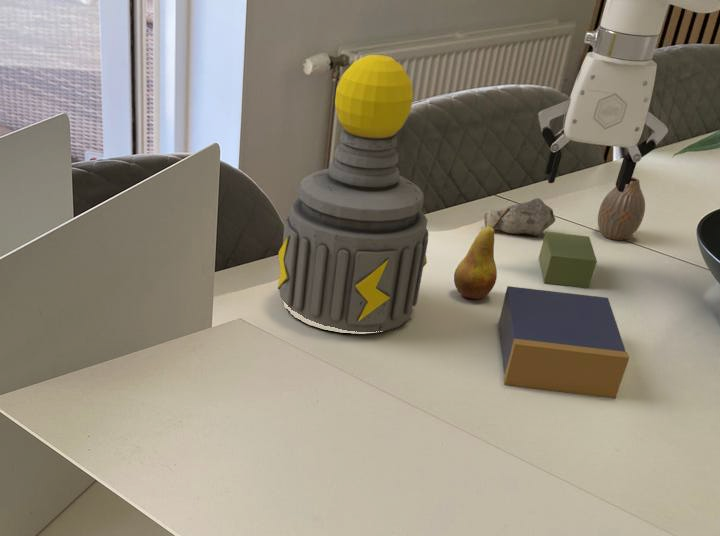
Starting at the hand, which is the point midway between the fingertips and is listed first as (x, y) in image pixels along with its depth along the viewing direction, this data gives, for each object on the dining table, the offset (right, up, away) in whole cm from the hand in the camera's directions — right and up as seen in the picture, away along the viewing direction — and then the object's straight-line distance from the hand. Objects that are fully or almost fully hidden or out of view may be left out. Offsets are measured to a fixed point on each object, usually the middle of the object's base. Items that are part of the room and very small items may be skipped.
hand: (584, 184), depth 140 cm
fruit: (-16, -16, 0) cm, 23 cm away
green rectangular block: (0, -9, +8) cm, 13 cm away
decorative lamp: (-34, -19, -6) cm, 40 cm away
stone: (-4, +1, +20) cm, 20 cm away
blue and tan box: (-9, -28, -14) cm, 33 cm away
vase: (+12, +1, +22) cm, 25 cm away
